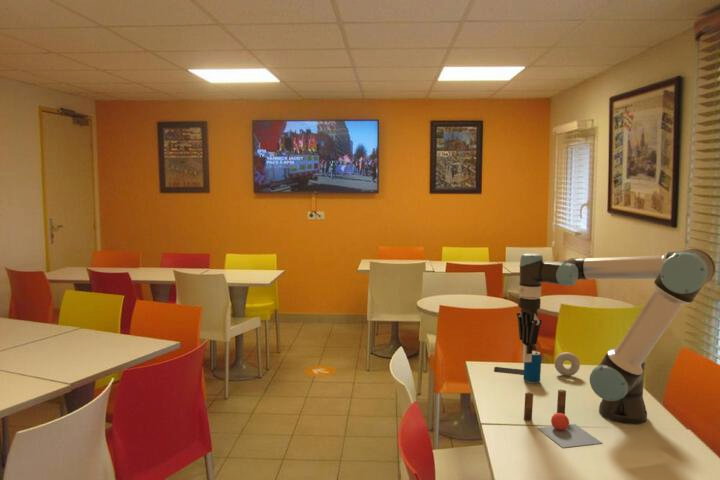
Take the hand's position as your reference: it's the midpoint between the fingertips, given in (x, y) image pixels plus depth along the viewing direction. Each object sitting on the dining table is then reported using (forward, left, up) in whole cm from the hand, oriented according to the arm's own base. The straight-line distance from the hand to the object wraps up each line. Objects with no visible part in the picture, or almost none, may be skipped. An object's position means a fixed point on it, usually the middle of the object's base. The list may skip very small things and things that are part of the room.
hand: (527, 361), depth 207 cm
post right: (-13, -6, -16) cm, 21 cm away
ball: (-22, +1, -13) cm, 26 cm away
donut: (+23, -33, -16) cm, 43 cm away
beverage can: (+20, -15, -16) cm, 30 cm away
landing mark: (-27, 0, -16) cm, 31 cm away
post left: (-13, +6, -16) cm, 21 cm away
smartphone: (+33, -13, -16) cm, 39 cm away
